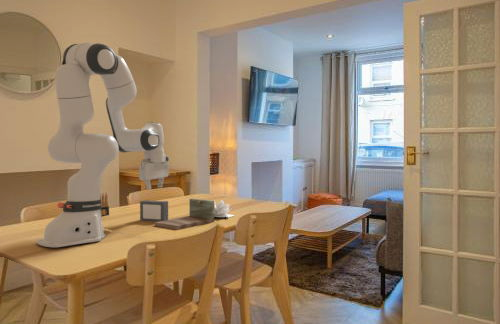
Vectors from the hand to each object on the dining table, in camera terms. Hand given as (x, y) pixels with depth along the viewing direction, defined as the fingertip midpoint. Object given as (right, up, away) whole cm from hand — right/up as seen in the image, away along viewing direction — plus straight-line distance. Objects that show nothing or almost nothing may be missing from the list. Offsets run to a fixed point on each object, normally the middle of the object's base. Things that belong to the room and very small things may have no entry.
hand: (154, 188), depth 167 cm
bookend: (+15, -15, -8) cm, 23 cm away
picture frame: (0, -15, 0) cm, 15 cm away
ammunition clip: (-29, -15, +7) cm, 33 cm away
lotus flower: (+28, -15, +10) cm, 34 cm away
